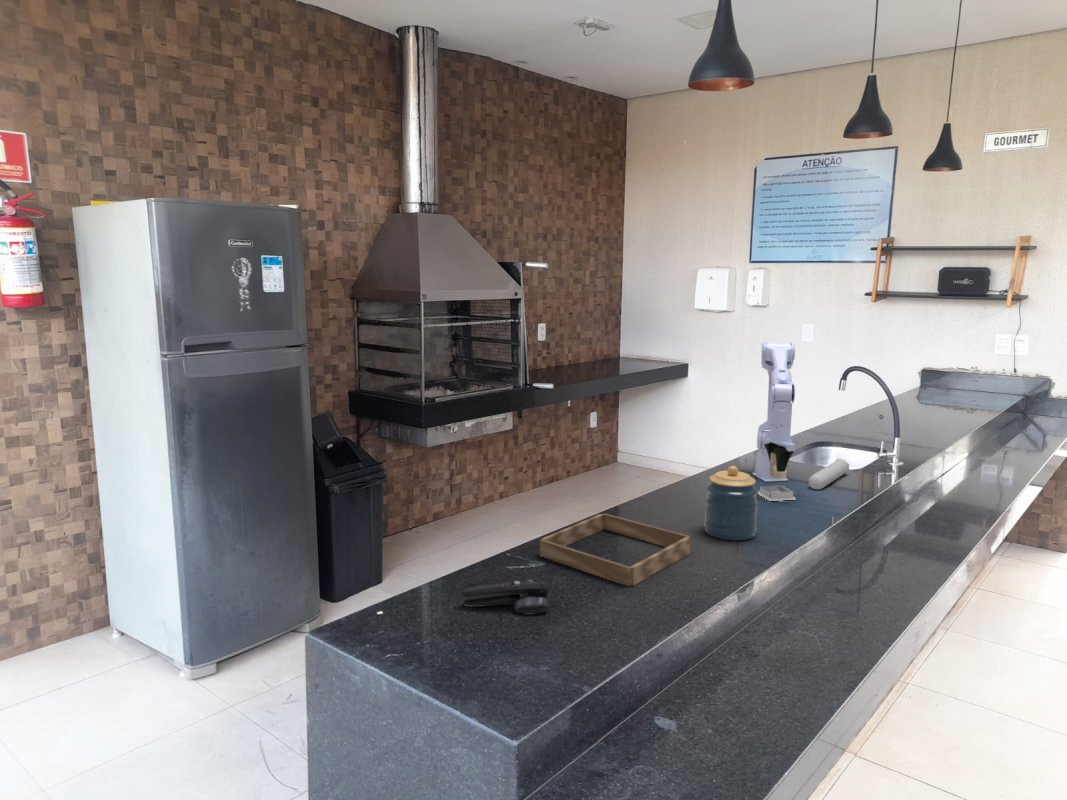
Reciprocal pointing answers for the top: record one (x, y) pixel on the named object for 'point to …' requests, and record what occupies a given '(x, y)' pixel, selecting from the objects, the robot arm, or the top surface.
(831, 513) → the top surface
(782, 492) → the tile
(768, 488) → the white square tray
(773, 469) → the wooden block
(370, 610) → the top surface
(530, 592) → the can opener
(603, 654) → the top surface
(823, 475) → the tube
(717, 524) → the canister
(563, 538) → the wooden frame
